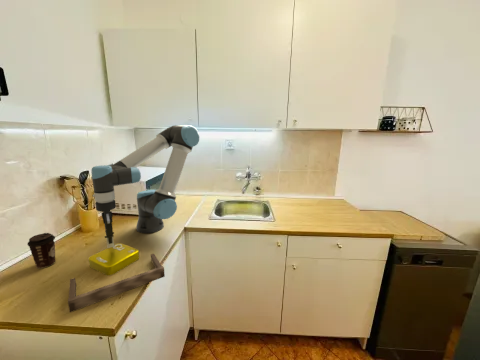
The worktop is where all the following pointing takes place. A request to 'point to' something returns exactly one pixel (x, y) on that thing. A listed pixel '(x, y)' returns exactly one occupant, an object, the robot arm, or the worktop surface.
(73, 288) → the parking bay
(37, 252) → the coffee cup
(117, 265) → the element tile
